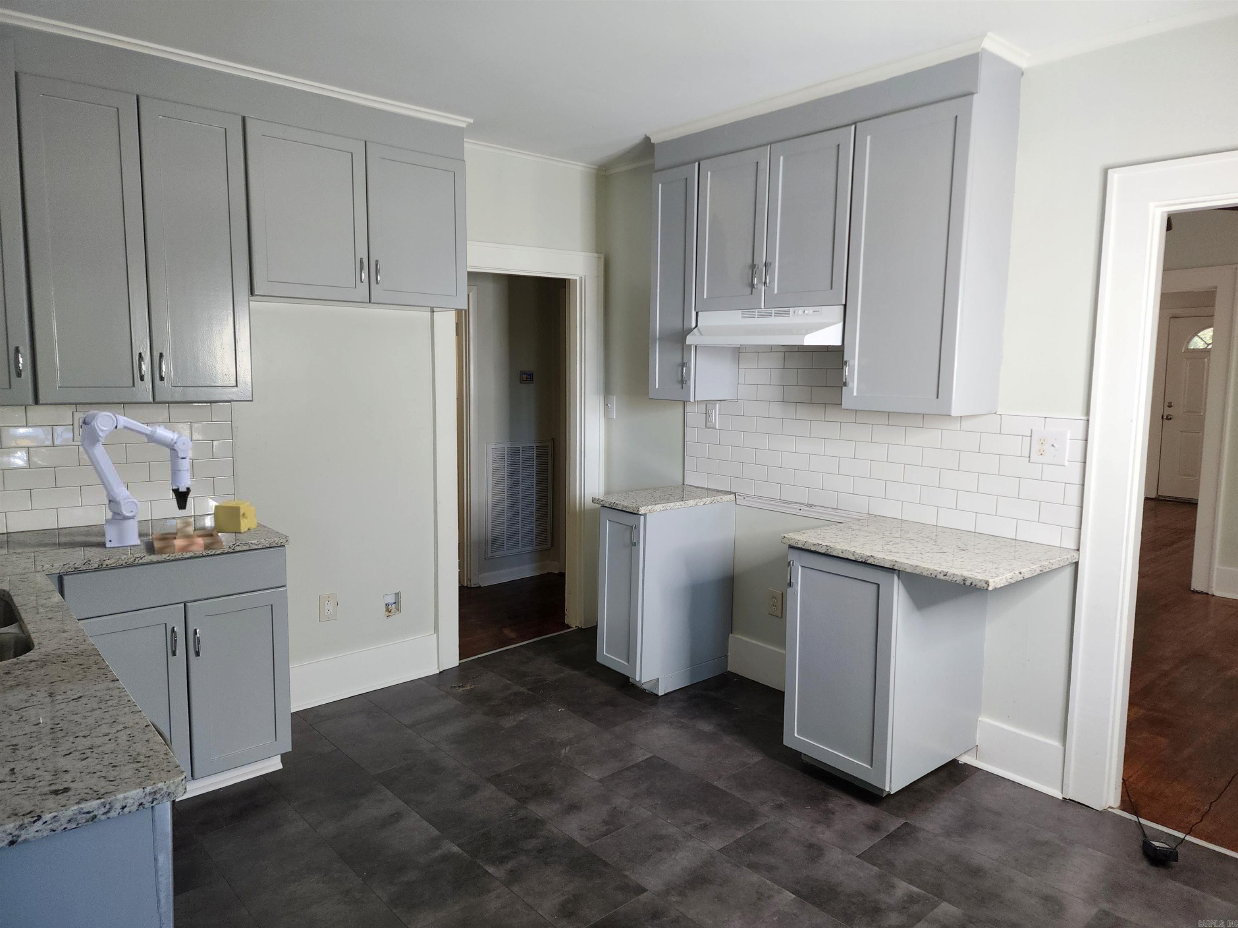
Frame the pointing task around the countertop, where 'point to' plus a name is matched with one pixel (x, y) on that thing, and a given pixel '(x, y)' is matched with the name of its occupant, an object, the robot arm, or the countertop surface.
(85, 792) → the countertop surface
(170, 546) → the trap deck
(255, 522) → the cheese
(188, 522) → the block
